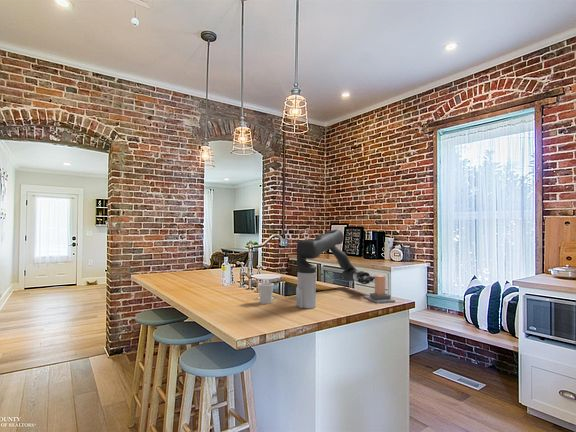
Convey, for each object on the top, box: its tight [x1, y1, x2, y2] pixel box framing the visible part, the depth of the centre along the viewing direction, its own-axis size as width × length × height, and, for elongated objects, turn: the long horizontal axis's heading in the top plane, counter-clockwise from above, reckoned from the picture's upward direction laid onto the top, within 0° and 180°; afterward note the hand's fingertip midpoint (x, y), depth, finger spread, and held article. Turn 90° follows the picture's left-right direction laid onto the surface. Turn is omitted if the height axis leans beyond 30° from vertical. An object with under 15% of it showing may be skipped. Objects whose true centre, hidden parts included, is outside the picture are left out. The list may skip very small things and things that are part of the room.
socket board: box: [362, 292, 396, 304], centre depth 184 cm, size 11×15×3 cm
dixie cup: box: [257, 281, 275, 305], centre depth 175 cm, size 8×8×10 cm
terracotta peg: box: [374, 275, 386, 296], centre depth 185 cm, size 4×4×12 cm
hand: (375, 281), depth 190 cm, fingers open, 8 cm apart
